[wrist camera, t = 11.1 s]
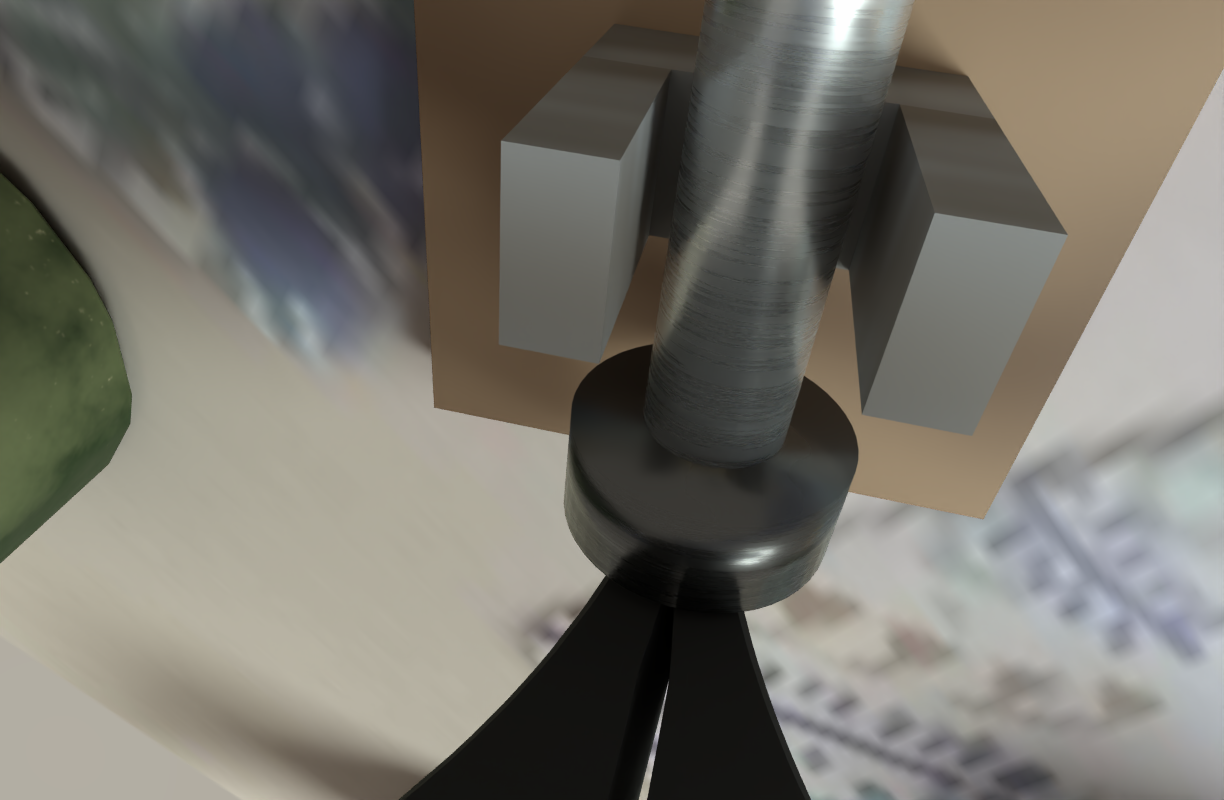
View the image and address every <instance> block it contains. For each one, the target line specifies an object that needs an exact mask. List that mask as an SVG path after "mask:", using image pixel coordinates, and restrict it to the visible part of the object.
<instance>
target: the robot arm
mask: <svg viewBox="0 0 1224 800" xmlns="http://www.w3.org/2000/svg"><path fill="white" fill-rule="evenodd" d="M668 681H669V683H668ZM667 685H668V690H667V695H666V701H665V706H664V712H663V717H662V723H661V728H660V734H659V739H658V745H657V750H656V756H655V761H654V766H653V772H652V777H651V782H650V788H649V793H648V798H647V800H811V798H810V796H809V794H808V792H807V790H806V787H805V785H804V783H803V780H802V778H801V776H800V774H799V771H798V769H797V767H796V764H795V762H794V760H793V758H792V755H791V753H790V750H789V748H788V745H787V743H786V740H785V738H784V735H783V733H782V730H781V728H780V725H779V722H778V720H777V717H776V714H775V712H774V709H773V706H772V703H771V701H770V698H769V695H768V692H767V689H766V686H765V683H764V680H763V677H762V674H761V671H760V668H759V665H758V661H757V658H756V655H755V651H754V648H753V644H752V641H751V637H750V633H749V629H748V625H747V621H746V617H745V614H744V612H738V613H719V614H716V613H700V612H693V611H687V610H681V609H676V608H673V607H669V606H666V605H662V604H659V603H656V602H653V601H651V600H648V599H646V598H643V597H641V596H639V595H637V594H635V593H633V592H631V591H629V590H627V589H625V588H623V587H622V586H621V585H619V584H618V583H616V582H615V581H613V580H612V579H610V578H609V577H607V576H605V577H604V579H603V580H602V582H601V583H600V585H599V586H598V588H597V589H596V591H595V592H594V593H593V595H592V596H591V598H590V599H589V601H588V602H587V604H586V605H585V607H584V608H583V609H582V611H581V612H580V613H579V615H578V616H577V617H576V619H575V620H574V621H573V622H572V624H571V625H570V626H569V628H568V629H567V630H566V631H565V633H564V634H563V635H562V637H561V638H560V639H559V640H558V642H557V643H556V644H555V646H554V647H553V648H552V649H551V651H550V652H549V653H548V654H547V656H546V657H545V658H544V659H543V660H542V661H541V663H540V664H539V665H538V666H537V667H536V668H535V670H534V671H533V672H532V673H531V674H530V675H529V676H528V678H527V679H526V680H525V681H524V682H523V683H522V684H521V685H520V686H519V687H518V689H517V690H516V691H515V692H514V693H513V694H512V695H511V696H510V697H509V698H508V699H507V700H506V701H505V703H504V704H503V705H502V706H501V707H500V708H499V709H498V710H497V711H496V712H495V713H494V714H493V715H492V716H491V717H490V718H489V719H488V720H487V721H486V722H485V723H484V724H483V725H482V726H481V727H480V728H479V729H478V730H477V731H476V732H475V733H474V734H473V735H472V736H471V737H469V738H468V739H467V740H466V741H465V742H464V743H463V744H462V745H461V746H460V747H459V748H458V749H457V750H456V751H455V752H453V753H452V754H451V755H450V756H449V757H448V758H447V759H446V760H444V761H443V762H442V763H441V764H440V765H439V766H437V767H436V768H435V769H434V770H433V771H432V772H430V773H429V774H428V775H427V776H426V777H425V778H423V779H422V780H421V781H420V782H419V783H418V784H416V785H415V786H414V787H413V788H412V789H411V790H410V791H408V792H407V793H406V794H405V795H404V796H403V797H401V798H400V799H399V800H639V796H640V792H641V788H642V784H643V780H644V776H645V772H646V768H647V764H648V760H649V756H650V752H651V748H652V744H653V740H654V736H655V733H656V729H657V725H658V721H659V717H660V713H661V709H662V705H663V701H664V697H665V693H666V689H667Z"/></svg>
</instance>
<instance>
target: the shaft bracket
mask: <svg viewBox="0 0 1224 800" xmlns="http://www.w3.org/2000/svg"><path fill="white" fill-rule="evenodd" d="M704 3H705V0H414V14H415V34H416V54H417V74H418V94H419V114H420V134H421V154H422V174H423V194H424V214H425V234H426V254H427V274H428V294H429V314H430V334H431V354H432V374H433V394H434V408H439V409H444V410H449V411H454V412H459V413H464V414H469V415H474V416H479V417H484V418H488V419H493V420H498V421H503V422H508V423H513V424H518V425H523V426H528V427H533V428H538V429H543V430H547V431H552V432H557V433H562V434H567V435H569V432H570V420H571V407H572V401H573V398H574V395H575V392H576V390H577V388H578V386H579V384H580V383H581V381H582V380H583V379H584V378H585V376H586V375H587V374H588V373H589V372H590V371H591V370H593V369H594V368H595V367H596V366H597V365H599V364H600V363H602V362H603V361H605V360H606V359H608V358H610V357H612V356H614V355H617V354H619V353H621V352H624V351H627V350H630V349H633V348H637V347H641V346H645V345H650V344H653V342H654V336H655V329H656V323H657V316H658V309H659V303H660V296H661V289H662V283H663V276H664V269H665V263H666V256H667V249H668V243H669V236H670V229H671V223H672V216H673V210H674V203H675V196H676V190H677V183H678V176H679V170H680V163H681V156H682V150H683V143H684V136H685V130H686V123H687V116H688V110H689V103H690V97H691V90H692V83H693V77H694V70H695V63H696V57H697V50H698V43H699V37H700V30H701V23H702V17H703V10H704ZM1223 68H1224V0H915V1H914V4H913V8H912V11H911V14H910V18H909V21H908V25H907V28H906V31H905V35H904V38H903V41H902V45H901V48H900V52H899V55H898V58H897V62H896V65H895V69H894V72H893V75H892V79H891V82H890V86H889V89H888V92H887V96H886V99H885V103H884V106H883V109H882V113H881V116H880V119H879V123H878V126H877V130H876V133H875V136H874V140H873V143H872V147H871V150H870V153H869V157H868V160H867V164H866V167H865V170H864V174H863V177H862V181H861V184H860V187H859V191H858V194H857V198H856V201H855V204H854V208H853V211H852V214H851V218H850V221H849V225H848V228H847V231H846V235H845V238H844V242H843V245H842V248H841V252H840V255H839V259H838V262H837V265H836V269H835V272H834V276H833V279H832V282H831V286H830V289H829V292H828V296H827V299H826V303H825V306H824V309H823V313H822V316H821V320H820V323H819V326H818V330H817V333H816V337H815V340H814V343H813V347H812V350H811V354H810V357H809V360H808V364H807V367H806V371H805V374H804V376H805V377H807V378H808V379H810V380H811V381H813V382H814V383H816V384H817V385H818V386H819V387H820V388H822V389H823V390H824V391H825V392H827V393H828V394H829V395H830V396H831V397H832V398H833V400H834V401H835V402H836V403H837V404H838V405H839V406H840V408H841V409H842V410H843V411H844V413H845V414H846V416H847V418H848V419H849V421H850V423H851V424H852V427H853V429H854V432H855V435H856V437H857V443H858V448H859V455H858V464H857V468H856V472H855V475H854V478H853V480H852V483H851V486H850V488H849V491H848V492H852V493H857V494H862V495H867V496H872V497H877V498H881V499H886V500H891V501H896V502H901V503H906V504H911V505H916V506H921V507H926V508H931V509H935V510H940V511H945V512H950V513H955V514H960V515H965V516H970V517H975V518H980V519H984V517H985V515H986V513H987V511H988V510H989V508H990V506H991V504H992V502H993V500H994V498H995V496H996V495H997V493H998V491H999V489H1000V487H1001V485H1002V483H1003V481H1004V480H1005V478H1006V476H1007V474H1008V472H1009V470H1010V468H1011V466H1012V465H1013V463H1014V461H1015V459H1016V457H1017V455H1018V453H1019V451H1020V449H1021V448H1022V446H1023V444H1024V442H1025V440H1026V438H1027V436H1028V434H1029V433H1030V431H1031V429H1032V427H1033V425H1034V423H1035V421H1036V419H1037V418H1038V416H1039V414H1040V412H1041V410H1042V408H1043V406H1044V404H1045V403H1046V401H1047V399H1048V397H1049V395H1050V393H1051V391H1052V389H1053V387H1054V386H1055V384H1056V382H1057V380H1058V378H1059V376H1060V374H1061V372H1062V371H1063V369H1064V367H1065V365H1066V363H1067V361H1068V359H1069V357H1070V356H1071V354H1072V352H1073V350H1074V348H1075V346H1076V344H1077V342H1078V341H1079V339H1080V337H1081V335H1082V333H1083V331H1084V329H1085V327H1086V325H1087V324H1088V322H1089V320H1090V318H1091V316H1092V314H1093V312H1094V310H1095V309H1096V307H1097V305H1098V303H1099V301H1100V299H1101V297H1102V295H1103V294H1104V292H1105V290H1106V288H1107V286H1108V284H1109V282H1110V280H1111V279H1112V277H1113V275H1114V273H1115V271H1116V269H1117V267H1118V265H1119V263H1120V262H1121V260H1122V258H1123V256H1124V254H1125V252H1126V250H1127V248H1128V247H1129V245H1130V243H1131V241H1132V239H1133V237H1134V235H1135V233H1136V232H1137V230H1138V228H1139V226H1140V224H1141V222H1142V220H1143V218H1144V217H1145V215H1146V213H1147V211H1148V209H1149V207H1150V205H1151V203H1152V201H1153V200H1154V198H1155V196H1156V194H1157V192H1158V190H1159V188H1160V186H1161V185H1162V183H1163V181H1164V179H1165V177H1166V175H1167V173H1168V171H1169V170H1170V168H1171V166H1172V164H1173V162H1174V160H1175V158H1176V156H1177V155H1178V153H1179V151H1180V149H1181V147H1182V145H1183V143H1184V141H1185V140H1186V138H1187V136H1188V134H1189V132H1190V130H1191V128H1192V126H1193V124H1194V123H1195V121H1196V119H1197V117H1198V115H1199V113H1200V111H1201V109H1202V108H1203V106H1204V104H1205V102H1206V100H1207V98H1208V96H1209V94H1210V93H1211V91H1212V89H1213V87H1214V85H1215V83H1216V81H1217V79H1218V78H1219V76H1220V74H1221V72H1222V70H1223Z"/></svg>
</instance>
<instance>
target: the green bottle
mask: <svg viewBox="0 0 1224 800" xmlns="http://www.w3.org/2000/svg"><path fill="white" fill-rule="evenodd" d="M131 402H132V393H131V389H130V386H129V382H128V378H127V374H126V370H125V367H124V363H123V359H122V355H121V351H120V348H119V344H118V340H117V336H116V332H115V329H114V325H113V322H112V319H111V317H110V316H109V314H108V312H107V310H106V308H105V306H104V304H103V302H102V300H101V298H100V296H99V294H98V292H97V291H96V289H95V287H94V285H93V283H92V281H91V279H90V278H89V276H88V275H87V274H86V272H85V271H84V270H83V269H82V267H81V266H80V265H79V263H78V262H77V261H76V259H75V258H74V257H73V256H72V254H71V253H70V252H69V250H68V249H67V248H66V246H65V245H64V244H63V242H62V241H61V240H60V239H59V237H58V236H57V235H56V233H55V232H54V231H53V229H52V228H51V227H50V226H49V224H48V223H47V222H46V220H45V219H44V218H43V216H42V215H41V214H40V212H39V211H38V210H37V209H36V207H35V206H34V205H33V203H32V202H31V201H30V200H29V199H28V198H26V197H25V196H24V195H23V194H22V193H21V192H20V191H19V190H18V189H17V188H16V187H15V186H14V185H13V184H12V183H11V182H10V181H9V180H8V179H7V178H6V177H5V176H4V175H3V174H2V173H1V172H0V563H1V562H2V561H3V560H5V559H6V558H7V557H8V556H9V555H10V554H11V553H12V552H13V551H14V550H15V549H17V548H18V547H19V546H20V545H21V544H22V543H23V542H24V541H25V540H26V539H27V538H29V537H30V536H31V535H32V534H33V533H34V532H35V531H36V530H37V529H38V528H39V527H41V526H42V525H43V524H44V523H45V522H46V521H47V520H48V519H49V518H50V517H51V516H53V515H54V514H55V513H56V512H57V511H58V510H59V509H60V508H61V507H62V506H64V505H65V504H66V503H67V502H68V501H69V500H70V499H71V498H72V497H73V496H74V495H76V494H77V493H78V492H79V491H80V490H81V489H82V488H83V487H84V486H85V485H86V484H88V483H89V482H90V481H91V480H92V479H93V478H94V477H95V476H96V475H97V474H98V473H100V472H101V471H102V470H103V469H104V468H105V467H106V466H107V465H108V464H109V463H110V461H111V459H112V457H113V455H114V453H115V451H116V449H117V448H118V446H119V444H120V442H121V440H122V438H123V436H124V434H125V433H126V431H127V429H128V427H129V425H130V419H131Z"/></svg>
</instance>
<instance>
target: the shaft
mask: <svg viewBox="0 0 1224 800" xmlns="http://www.w3.org/2000/svg"><path fill="white" fill-rule="evenodd" d="M914 1H915V0H705V3H704V10H703V17H702V23H701V30H700V37H699V43H698V50H697V57H696V63H695V70H694V77H693V83H692V90H691V97H690V103H689V110H688V116H687V123H686V130H685V136H684V143H683V150H682V156H681V163H680V170H679V176H678V183H677V190H676V196H675V203H674V210H673V216H672V223H671V229H670V236H669V243H668V249H667V256H666V263H665V269H664V276H663V283H662V289H661V296H660V303H659V309H658V316H657V323H656V329H655V336H654V342H653V344H650V345H645V346H641V347H637V348H633V349H630V350H627V351H624V352H621V353H619V354H617V355H614V356H612V357H610V358H608V359H606V360H605V361H603V362H602V363H600V364H599V365H597V366H596V367H595V368H594V369H593V370H591V371H590V372H589V373H588V374H587V375H586V376H585V378H584V379H583V380H582V381H581V383H580V384H579V386H578V388H577V390H576V392H575V395H574V398H573V401H572V407H571V420H570V432H569V444H568V456H567V469H566V481H565V494H564V508H565V516H566V519H567V523H568V526H569V529H570V531H571V533H572V535H573V537H574V539H575V541H576V543H577V544H578V546H579V547H580V549H581V550H582V552H583V553H584V554H585V555H586V557H587V558H588V559H589V560H590V561H591V562H592V563H593V564H594V565H595V566H596V567H597V568H598V569H599V570H600V571H602V572H603V573H604V574H605V575H606V576H607V577H609V578H610V579H612V580H613V581H615V582H616V583H618V584H619V585H621V586H622V587H623V588H625V589H627V590H629V591H631V592H633V593H635V594H637V595H639V596H641V597H643V598H646V599H648V600H651V601H653V602H656V603H659V604H662V605H666V606H669V607H673V608H676V609H681V610H687V611H693V612H700V613H716V614H719V613H738V612H744V611H750V610H755V609H759V608H762V607H766V606H769V605H772V604H774V603H776V602H779V601H781V600H783V599H785V598H787V597H789V596H790V595H792V594H793V593H795V592H796V591H798V590H799V589H800V588H801V587H803V586H804V585H805V584H806V583H807V582H808V581H809V580H810V579H811V577H812V576H813V575H814V573H815V572H816V571H817V570H818V568H819V566H820V564H821V562H822V559H823V557H824V555H825V552H826V549H827V547H828V544H829V541H830V539H831V536H832V533H833V531H834V528H835V525H836V523H837V520H838V517H839V515H840V512H841V509H842V507H843V504H844V502H845V499H846V496H847V494H848V491H849V488H850V486H851V483H852V480H853V478H854V475H855V472H856V468H857V464H858V455H859V448H858V443H857V437H856V435H855V432H854V429H853V427H852V424H851V423H850V421H849V419H848V418H847V416H846V414H845V413H844V411H843V410H842V409H841V408H840V406H839V405H838V404H837V403H836V402H835V401H834V400H833V398H832V397H831V396H830V395H829V394H828V393H827V392H825V391H824V390H823V389H822V388H820V387H819V386H818V385H817V384H816V383H814V382H813V381H811V380H810V379H808V378H807V377H805V376H804V374H805V371H806V367H807V364H808V360H809V357H810V354H811V350H812V347H813V343H814V340H815V337H816V333H817V330H818V326H819V323H820V320H821V316H822V313H823V309H824V306H825V303H826V299H827V296H828V292H829V289H830V286H831V282H832V279H833V276H834V272H835V269H836V265H837V262H838V259H839V255H840V252H841V248H842V245H843V242H844V238H845V235H846V231H847V228H848V225H849V221H850V218H851V214H852V211H853V208H854V204H855V201H856V198H857V194H858V191H859V187H860V184H861V181H862V177H863V174H864V170H865V167H866V164H867V160H868V157H869V153H870V150H871V147H872V143H873V140H874V136H875V133H876V130H877V126H878V123H879V119H880V116H881V113H882V109H883V106H884V103H885V99H886V96H887V92H888V89H889V86H890V82H891V79H892V75H893V72H894V69H895V65H896V62H897V58H898V55H899V52H900V48H901V45H902V41H903V38H904V35H905V31H906V28H907V25H908V21H909V18H910V14H911V11H912V8H913V4H914Z"/></svg>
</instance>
